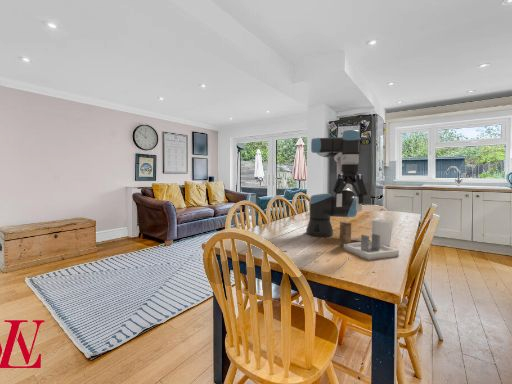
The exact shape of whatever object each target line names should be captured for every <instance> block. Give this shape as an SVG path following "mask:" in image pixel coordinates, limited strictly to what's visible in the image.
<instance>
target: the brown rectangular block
mask: <svg viewBox="0 0 512 384" xmlns="http://www.w3.org/2000/svg"><path fill="white" fill-rule="evenodd" d="M351 237H352V223H351V222H350V221H344V220H342V221H339V245H338V246H340V247H342V248H344V244H348V243H351Z"/></svg>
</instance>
